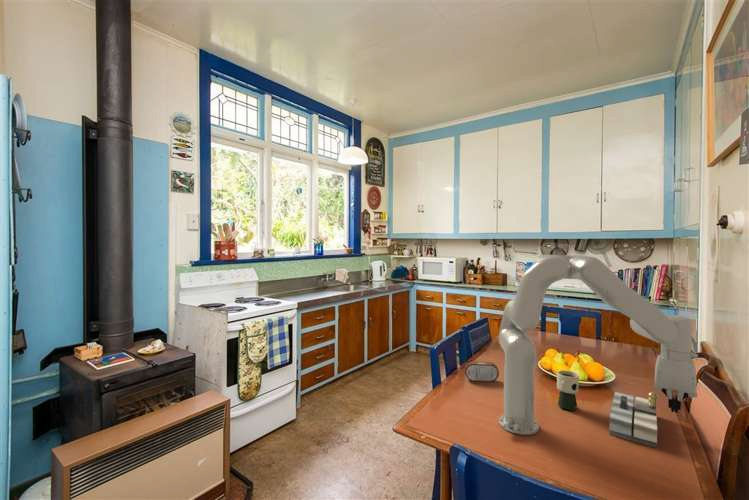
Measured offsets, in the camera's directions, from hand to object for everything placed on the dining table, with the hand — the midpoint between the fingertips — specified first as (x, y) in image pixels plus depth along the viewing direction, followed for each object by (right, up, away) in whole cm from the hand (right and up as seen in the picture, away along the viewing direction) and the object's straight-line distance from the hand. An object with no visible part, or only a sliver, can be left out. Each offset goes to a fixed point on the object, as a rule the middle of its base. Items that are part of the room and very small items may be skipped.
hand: (674, 410), depth 113 cm
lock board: (-8, -8, +7) cm, 13 cm away
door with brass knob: (-6, -2, +5) cm, 8 cm away
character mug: (-24, -8, +19) cm, 32 cm away
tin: (-49, -7, +44) cm, 66 cm away
